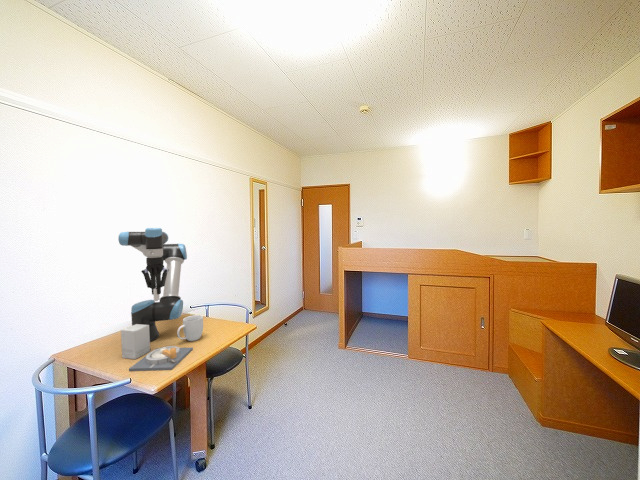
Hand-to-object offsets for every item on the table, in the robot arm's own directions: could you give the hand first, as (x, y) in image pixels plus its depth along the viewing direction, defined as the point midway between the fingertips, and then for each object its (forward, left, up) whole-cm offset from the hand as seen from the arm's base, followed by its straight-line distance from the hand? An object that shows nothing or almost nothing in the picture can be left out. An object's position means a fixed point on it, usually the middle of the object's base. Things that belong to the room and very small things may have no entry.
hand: (156, 300), depth 130 cm
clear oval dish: (+9, +9, -28) cm, 30 cm away
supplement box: (+1, -11, -29) cm, 31 cm away
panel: (+7, +7, -29) cm, 31 cm away
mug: (-16, +10, -29) cm, 35 cm away
